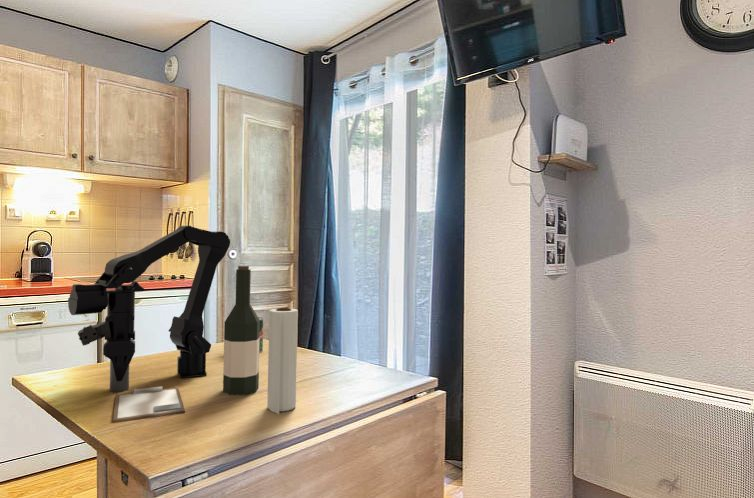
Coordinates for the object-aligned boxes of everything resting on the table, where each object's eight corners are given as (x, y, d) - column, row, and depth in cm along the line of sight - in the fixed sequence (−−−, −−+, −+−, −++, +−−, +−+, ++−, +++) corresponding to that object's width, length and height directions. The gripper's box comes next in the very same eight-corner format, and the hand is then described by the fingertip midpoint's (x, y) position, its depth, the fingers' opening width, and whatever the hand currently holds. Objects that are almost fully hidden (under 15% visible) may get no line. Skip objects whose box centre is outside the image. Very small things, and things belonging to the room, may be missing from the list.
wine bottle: (265, 387, 114) (268, 266, 114) (245, 397, 106) (248, 267, 106) (237, 383, 117) (239, 265, 117) (215, 393, 109) (218, 266, 109)
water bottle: (129, 386, 113) (130, 344, 113) (129, 390, 109) (129, 347, 109) (109, 388, 111) (110, 345, 111) (109, 393, 107) (109, 349, 107)
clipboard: (178, 389, 111) (178, 384, 111) (184, 412, 96) (185, 406, 96) (116, 396, 105) (116, 391, 105) (113, 422, 90) (113, 416, 90)
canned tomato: (243, 348, 156) (244, 316, 156) (266, 349, 156) (266, 317, 156) (234, 353, 148) (234, 319, 148) (257, 355, 148) (258, 320, 148)
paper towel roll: (280, 401, 104) (282, 306, 104) (301, 406, 101) (303, 308, 101) (257, 410, 98) (259, 309, 98) (278, 416, 95) (281, 312, 95)
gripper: (84, 307, 115) (83, 370, 115) (76, 318, 98) (75, 392, 98) (135, 305, 120) (134, 365, 120) (135, 316, 103) (134, 385, 103)
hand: (119, 376), depth 110 cm, fingers open, 8 cm apart
